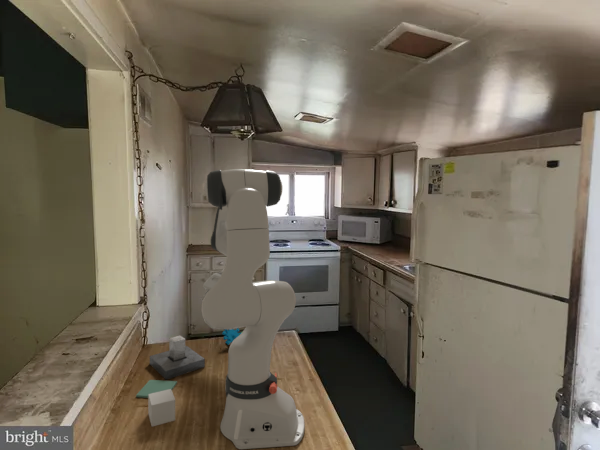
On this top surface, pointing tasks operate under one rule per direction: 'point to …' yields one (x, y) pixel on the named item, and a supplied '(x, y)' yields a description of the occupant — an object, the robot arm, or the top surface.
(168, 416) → the plain white cube
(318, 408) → the top surface
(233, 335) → the gear
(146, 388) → the rubber mat
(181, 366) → the socket block
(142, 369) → the top surface
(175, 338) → the steel bar
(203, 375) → the top surface
